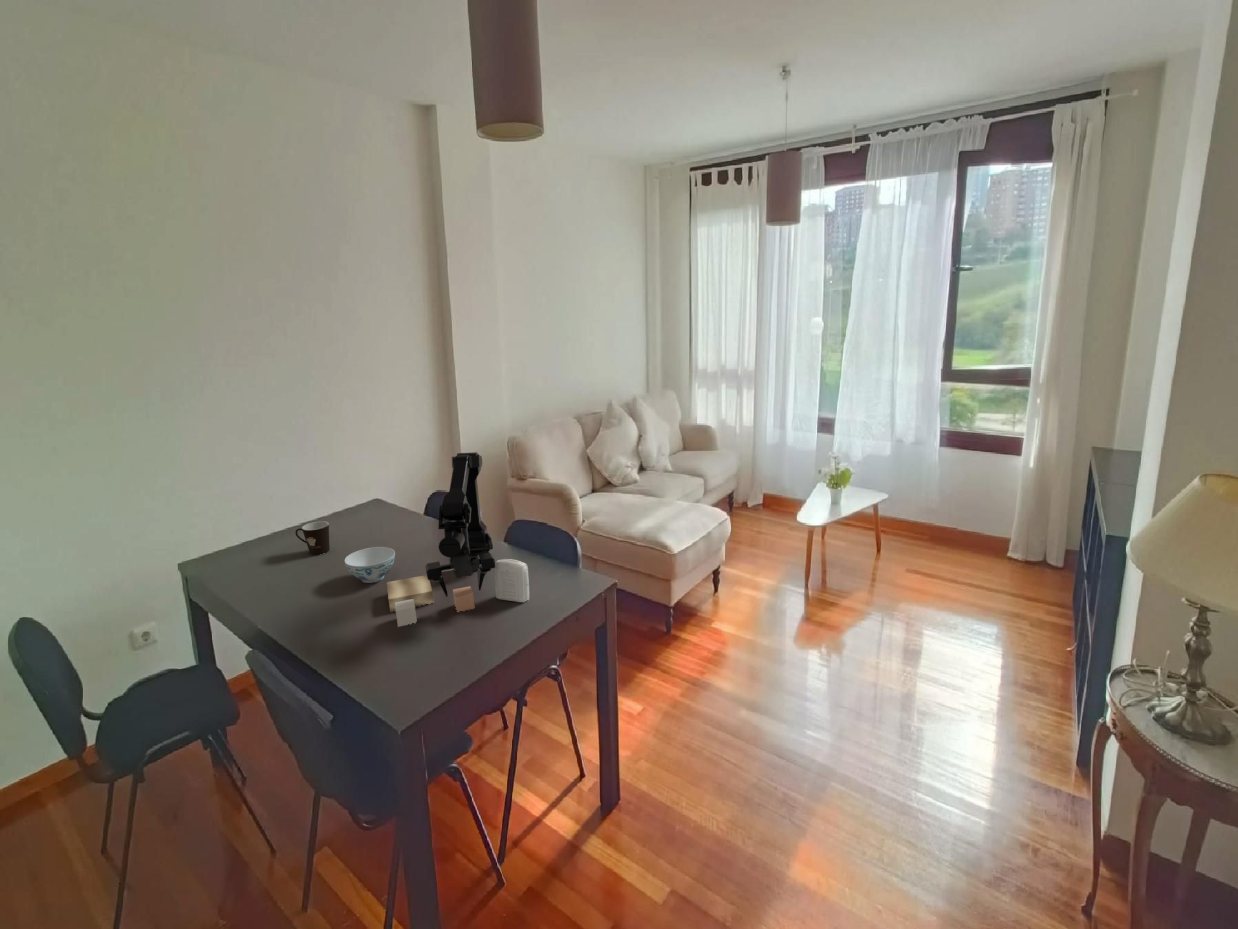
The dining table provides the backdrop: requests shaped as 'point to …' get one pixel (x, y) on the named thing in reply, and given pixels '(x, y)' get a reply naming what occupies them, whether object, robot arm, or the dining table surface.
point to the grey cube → (405, 612)
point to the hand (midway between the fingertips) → (463, 593)
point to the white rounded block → (511, 580)
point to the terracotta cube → (463, 598)
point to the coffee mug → (316, 537)
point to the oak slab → (410, 591)
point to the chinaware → (370, 563)
